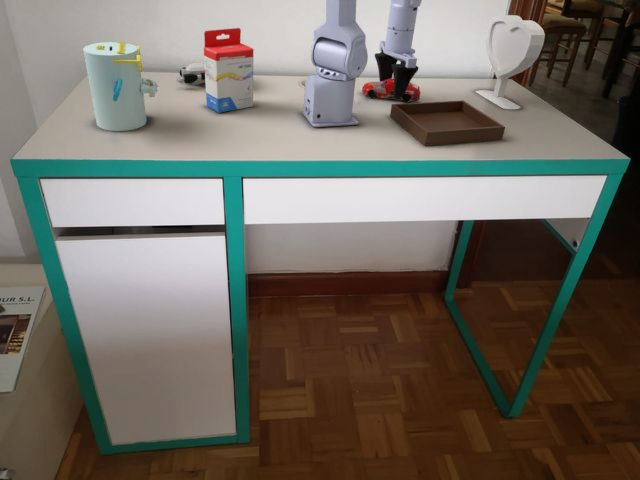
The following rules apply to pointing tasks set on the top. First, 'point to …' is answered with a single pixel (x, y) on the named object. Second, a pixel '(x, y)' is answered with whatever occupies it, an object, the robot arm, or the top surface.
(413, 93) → the race car
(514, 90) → the top surface
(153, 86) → the character sculpture
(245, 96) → the ink box
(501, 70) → the heart sculpture
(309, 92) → the robot arm
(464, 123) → the tray
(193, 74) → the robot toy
